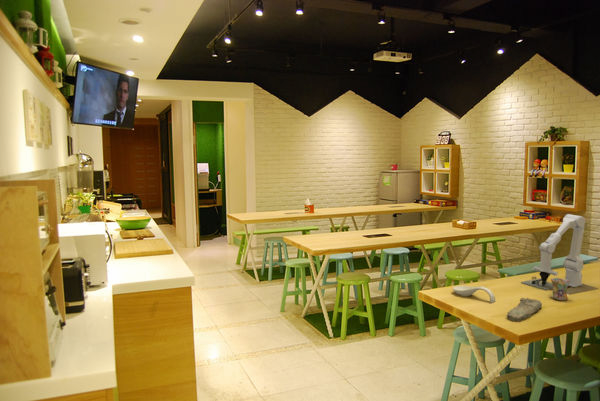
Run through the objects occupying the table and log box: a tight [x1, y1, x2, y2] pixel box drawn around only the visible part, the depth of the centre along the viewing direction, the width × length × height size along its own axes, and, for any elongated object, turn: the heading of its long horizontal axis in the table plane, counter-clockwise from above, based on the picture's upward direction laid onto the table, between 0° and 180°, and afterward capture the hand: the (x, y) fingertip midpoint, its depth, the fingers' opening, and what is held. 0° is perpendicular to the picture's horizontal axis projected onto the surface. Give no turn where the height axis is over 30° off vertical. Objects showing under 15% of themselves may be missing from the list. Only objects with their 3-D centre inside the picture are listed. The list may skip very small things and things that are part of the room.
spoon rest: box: [452, 285, 496, 304], centre depth 255 cm, size 24×12×7 cm, turn 42°
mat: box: [520, 279, 553, 291], centre depth 279 cm, size 15×16×1 cm
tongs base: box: [529, 277, 542, 284], centre depth 281 cm, size 12×3×3 cm, turn 119°
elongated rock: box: [506, 297, 543, 323], centre depth 232 cm, size 35×5×10 cm
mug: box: [550, 277, 570, 301], centre depth 255 cm, size 12×9×11 cm
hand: (543, 284), depth 274 cm, fingers closed
